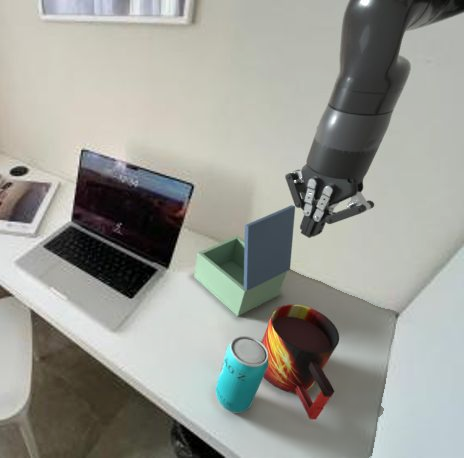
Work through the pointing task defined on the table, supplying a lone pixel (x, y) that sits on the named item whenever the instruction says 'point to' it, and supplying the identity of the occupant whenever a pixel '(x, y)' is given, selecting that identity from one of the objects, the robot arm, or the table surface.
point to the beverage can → (241, 373)
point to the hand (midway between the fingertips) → (308, 234)
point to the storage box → (232, 277)
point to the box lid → (268, 247)
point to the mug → (300, 353)
